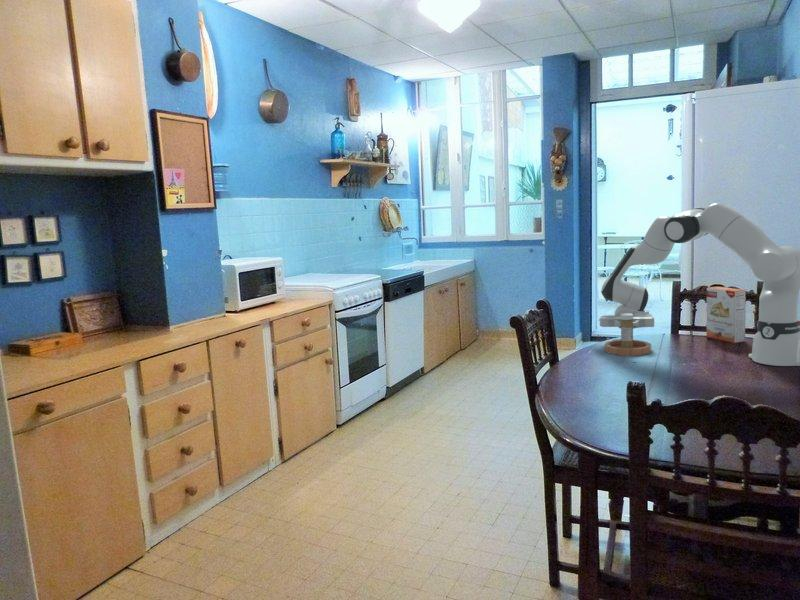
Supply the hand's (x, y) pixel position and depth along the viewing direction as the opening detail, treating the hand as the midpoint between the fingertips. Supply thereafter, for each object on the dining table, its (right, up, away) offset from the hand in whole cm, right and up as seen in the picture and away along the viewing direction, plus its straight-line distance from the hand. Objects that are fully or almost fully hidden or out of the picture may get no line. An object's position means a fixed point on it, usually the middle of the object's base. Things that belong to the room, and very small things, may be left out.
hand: (627, 324), depth 231 cm
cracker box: (+43, -7, +10) cm, 45 cm away
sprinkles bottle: (+1, -9, +2) cm, 10 cm away
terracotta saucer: (+1, -10, +2) cm, 10 cm away
